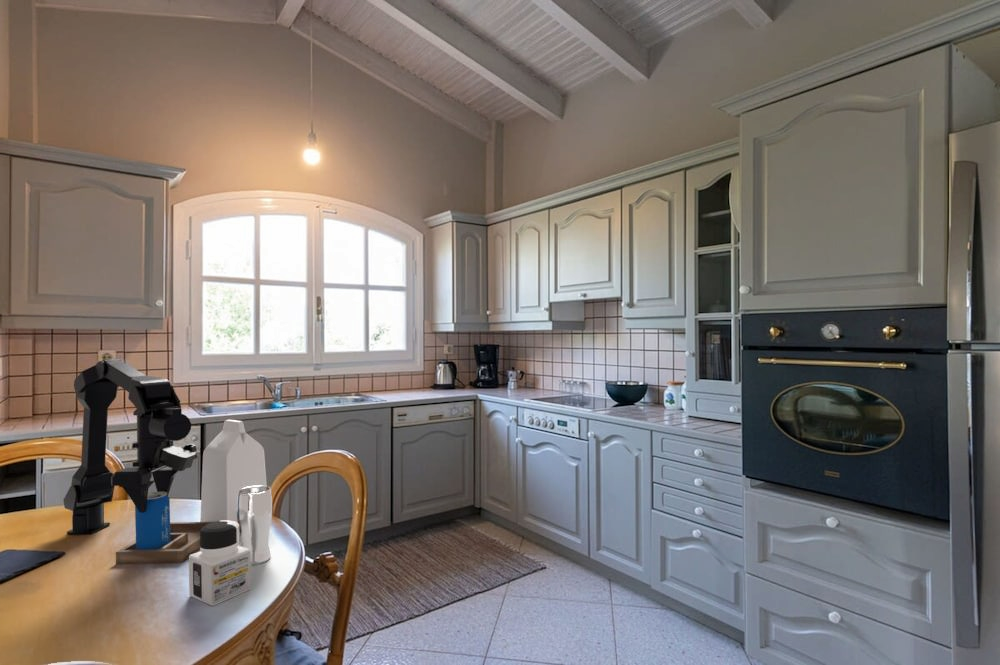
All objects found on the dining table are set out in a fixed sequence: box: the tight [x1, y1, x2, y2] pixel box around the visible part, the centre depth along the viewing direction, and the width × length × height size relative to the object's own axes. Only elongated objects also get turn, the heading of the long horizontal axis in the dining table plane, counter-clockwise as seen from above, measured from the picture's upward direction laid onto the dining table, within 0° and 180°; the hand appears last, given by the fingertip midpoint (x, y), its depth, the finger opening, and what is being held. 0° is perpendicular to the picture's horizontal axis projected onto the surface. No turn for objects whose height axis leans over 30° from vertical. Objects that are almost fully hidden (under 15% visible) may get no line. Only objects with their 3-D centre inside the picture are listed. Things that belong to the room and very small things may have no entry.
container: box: [188, 520, 252, 607], centre depth 103 cm, size 8×8×13 cm
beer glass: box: [237, 485, 273, 566], centre depth 118 cm, size 7×7×15 cm
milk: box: [199, 419, 268, 523], centre depth 142 cm, size 12×12×26 cm
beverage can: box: [134, 491, 171, 550], centre depth 121 cm, size 6×6×12 cm
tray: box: [115, 521, 212, 565], centre depth 125 cm, size 18×14×3 cm
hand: (153, 506), depth 121 cm, fingers open, 7 cm apart
